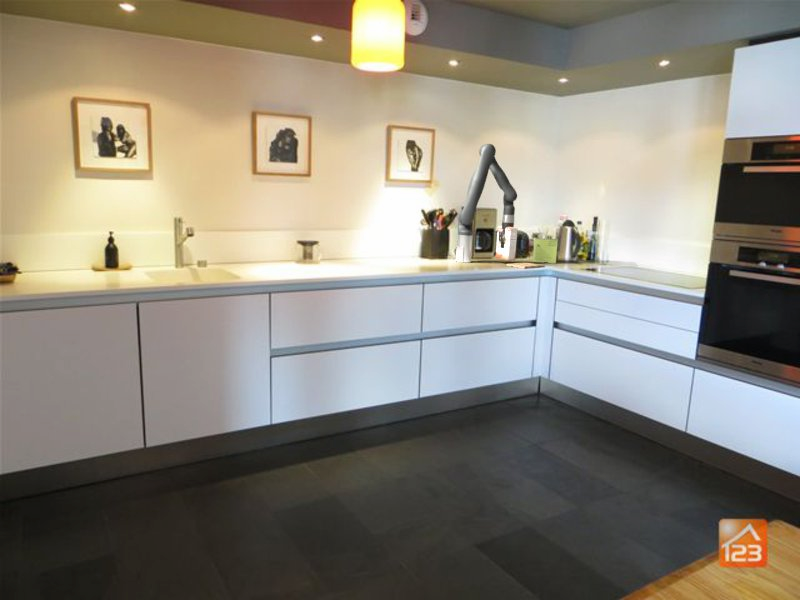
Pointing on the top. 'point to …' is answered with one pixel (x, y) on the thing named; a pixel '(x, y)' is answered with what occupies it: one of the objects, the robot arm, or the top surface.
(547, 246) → the protein box
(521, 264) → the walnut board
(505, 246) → the cracker box
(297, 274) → the top surface
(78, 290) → the top surface
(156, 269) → the top surface
